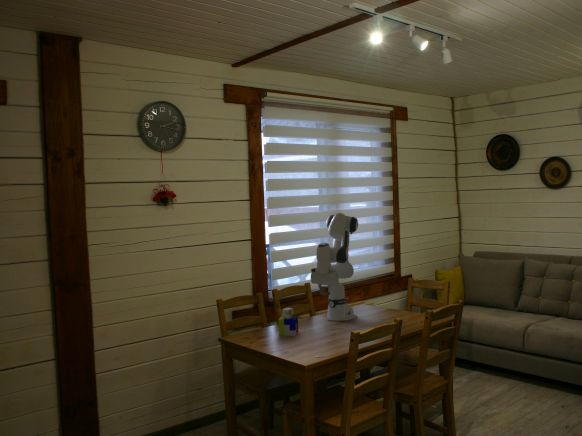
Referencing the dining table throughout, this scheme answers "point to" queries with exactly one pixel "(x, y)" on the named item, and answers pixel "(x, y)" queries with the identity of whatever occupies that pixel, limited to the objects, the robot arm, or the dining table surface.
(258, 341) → the dining table surface
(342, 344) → the dining table surface
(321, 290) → the block walnut
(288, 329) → the puzzle toy
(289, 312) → the block birch
